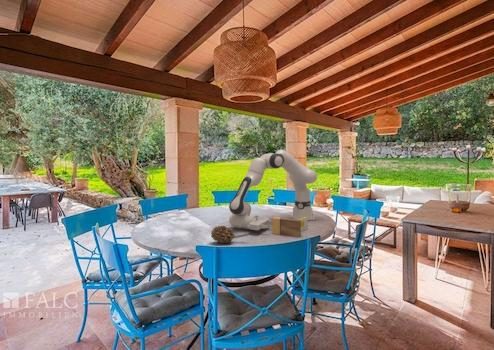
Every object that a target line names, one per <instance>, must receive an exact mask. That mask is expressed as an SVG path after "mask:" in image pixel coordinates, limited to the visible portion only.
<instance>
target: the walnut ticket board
mask: <svg viewBox="0 0 494 350" xmlns="http://www.w3.org/2000/svg"><path fill="white" fill-rule="evenodd" d="M281 218H282V219H280V236H285V237H286V236H287V237H292V238H300V237H301V236H302V232H301V220H295V219H293V218H284V217H281Z"/></svg>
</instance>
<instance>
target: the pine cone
mask: <svg viewBox="0 0 494 350" xmlns="http://www.w3.org/2000/svg"><path fill="white" fill-rule="evenodd" d="M249 234H250V232H246V233H243V234H239V235H236V234H235V233H234V231H233V229H232V228H231V227H226V226H225V225H218V226H215V227H214V228H213V229H211V235H210V237H211V239H212V240H214V241H215V242H217V243H222V244H225V243H226V244H231V242H232V240H234V239H236V238H237V239H238V238H243V237H247V236H249Z"/></svg>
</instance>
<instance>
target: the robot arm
mask: <svg viewBox="0 0 494 350" xmlns="http://www.w3.org/2000/svg"><path fill="white" fill-rule="evenodd" d="M280 168H282V169H283V170H284V171H286V172H287V173H288V174H289V179H290V180H291V182H292V185H293V187H294V193H295V195H294V197H295V200H294V206H293V207H292V215H291V216H290V219H295V220H299V219H302V218H304V217H307V221H315V219H316V215H315V214H314V213H313V211H314V210H313V208H312V205H311V203H312V200H311V190H310V189H309V188H308V187H307V185H309V184H314V183H315V182H317V179H318V174H317V172H316V171H315V170H312V169H311V168H309V167H307V166H306V165H304V164H303V163H301V162H300V161H298V160H297V159H296V158H295V157H293V155H291V154H290V153H289V152H288V151H286V150H284V149H278V150H277V151H275V153H272V152H269V153H263V154H261V155H259V156H258V157H255V158H253V160H252V161H251V163H250V165H249V167H248V170H247V171H246V172H247V173H246V175H245V176H244V177H243V180H242V181H241V183H240V185H239V186H238V189H237V191H236V193H235V194H234V195H235V196H234V197H233V198H232V199H231V200H230V202H229V205H228V208H229V211H230V213H231V215H230V216H229V217H228V219H229V220H228V222H229V224H230V226H231V227H233V228H238V229H245V230H252V231H259V230H261V229H270V228H269V227H270V226H269V225H271V226H272V220H271V218H269V217H266V216H260V215H251V212H252V206H251V204H250V203H248V202H246V201H245V198H246V196H247V194H248V191H249V189H250V188H253V187H256V186H258V185H259V184H261V182H262V179H263V178H264V175H265V171H266V170H267V169H269V170H270V169H273V170H274V169H280Z"/></svg>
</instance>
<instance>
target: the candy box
mask: <svg viewBox="0 0 494 350" xmlns="http://www.w3.org/2000/svg"><path fill="white" fill-rule="evenodd" d="M299 220H301V233H302V232H304V231H306V230H308V226H309V224H308V220H307V217H304V218H302V219H299Z"/></svg>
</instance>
